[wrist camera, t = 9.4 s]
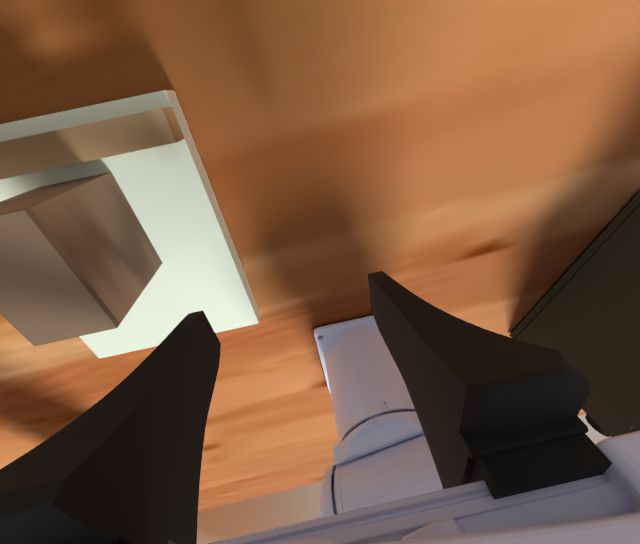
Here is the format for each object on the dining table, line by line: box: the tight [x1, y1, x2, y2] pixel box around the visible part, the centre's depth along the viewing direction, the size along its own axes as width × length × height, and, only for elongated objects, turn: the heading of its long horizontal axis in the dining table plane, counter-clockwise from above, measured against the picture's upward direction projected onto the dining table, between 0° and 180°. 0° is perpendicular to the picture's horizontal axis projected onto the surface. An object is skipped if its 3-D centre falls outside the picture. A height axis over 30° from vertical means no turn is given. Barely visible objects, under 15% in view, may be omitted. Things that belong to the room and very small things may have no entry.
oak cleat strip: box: [0, 107, 185, 180], centre depth 14 cm, size 2×13×2 cm, turn 101°
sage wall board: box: [0, 90, 260, 359], centre depth 19 cm, size 16×13×2 cm
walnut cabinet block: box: [0, 172, 162, 346], centre depth 14 cm, size 6×4×6 cm, turn 10°
